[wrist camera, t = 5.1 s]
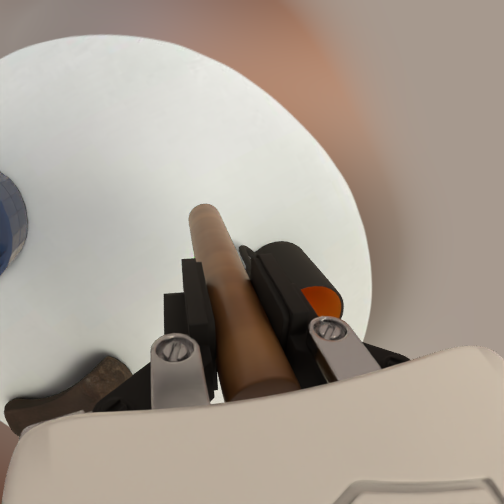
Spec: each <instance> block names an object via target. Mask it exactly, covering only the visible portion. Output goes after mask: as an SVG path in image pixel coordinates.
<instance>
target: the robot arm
mask: <svg viewBox="0 0 504 504" xmlns="http://www.w3.org/2000/svg"><path fill="white" fill-rule="evenodd" d="M182 275H183V289H184V292H183V293H169V294H164V336H161V337H160V338H158V339H157V340H155V342H154V343H153V344H152V347H151V362H150V363H148V364H147V365H146V366H144V367H143V368H142V369H140V370H139V371H138V372H136V373H135V374H134V375H133V376H131V377H130V378H129V379H127V380H126V381H125V382H123V383H122V384H121V385H119V386H118V387H117V388H115V389H114V390H113V391H111V392H110V393H109V394H107V395H106V396H105V397H103V398H102V399H101V400H99V401H98V402H97V403H96V404H95V406H94V408H93V410H92V411H90V412H87V413H85V412H84V410H81V411H77V412H74V413H71V414H67V415H64V416H61V417H57V418H54V419H50V420H46V421H43V422H39V423H35V424H32V425H30V426H27V427H26V428H25V429H24V430H23V431H22V432H21V434H20V436H19V442H18V444H17V445H16V448H15V450H14V452H13V455H12V458H11V461H10V464H9V468H8V472H7V475H6V480H5V486H4V492H3V499H2V504H504V359H503V358H501V357H500V356H499V355H498V354H497V353H495V352H494V351H493V350H491V349H489V348H486V347H481V346H460V347H453V348H449V349H445V350H441V351H438V352H435V353H432V354H429V355H425V356H422V357H419V358H416V359H413V360H410V359H408V358H407V357H405V356H403V355H401V354H397V353H394V352H391V351H388V350H385V349H382V348H379V347H376V346H373V345H369V344H366V343H363V342H361V340H360V339H359V338H358V336H357V335H356V334H355V332H354V331H353V330H352V328H351V327H350V326H349V325H348V324H347V323H346V322H345V321H343V320H341V319H339V318H336V317H332V316H321V317H319V316H318V315H317V313H316V312H315V310H314V309H313V307H312V306H311V305H310V303H309V302H308V300H307V299H306V297H305V296H304V294H303V293H302V291H301V290H300V289H299V287H298V286H297V284H296V283H291V282H290V280H289V279H288V277H287V276H286V274H285V273H284V271H283V270H282V268H281V267H280V265H279V264H278V262H277V261H276V259H275V258H274V256H273V255H272V254H271V253H268V254H257V255H256V258H252V260H251V278H250V281H251V283H252V285H253V287H254V289H255V292H256V294H257V296H258V298H259V300H260V302H261V304H262V306H263V309H264V311H265V313H266V315H267V317H268V319H269V321H270V324H271V326H272V328H273V330H274V332H275V334H276V336H277V338H278V340H279V343H280V345H281V347H282V349H283V351H284V353H285V355H286V357H287V359H288V361H289V363H290V365H291V368H292V370H293V372H294V374H295V376H296V378H297V380H298V382H299V384H300V387H301V390H297V391H292V392H287V393H282V394H276V395H271V396H265V397H259V398H253V399H246V400H240V401H233V402H226V403H218V404H210V401H211V400H213V398H214V390H218V381H217V368H216V330H215V320H214V315H213V311H212V307H211V302H210V298H209V293H208V289H207V285H206V280H205V276H204V271H203V266H202V262H196V258H192V259H182Z"/></svg>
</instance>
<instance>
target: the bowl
mask: <svg viewBox="0 0 504 504" xmlns="http://www.w3.org/2000/svg"><path fill="white" fill-rule="evenodd" d="M27 224H28V221H27V215H26V208H25V204H24V202H23V200H22V197H21V195H20V192H19V190H18V189H17V188H16V186H15V185H14V184H13V182H12V181H11V180H10V179H9V178H8V177H7V176H5V175H4V174H3V173H1V172H0V275H1V274H2V273H3V272H4V270H5V269H6V268H7V267H8V265H9V264H10V263H11V262H12V261H13V259H14V258H15V257H16V256H17V255H18V253H19V252H20V251H21V250H22V247H23V245H24V242H25V240H26V236H27Z"/></svg>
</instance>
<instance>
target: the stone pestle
mask: <svg viewBox="0 0 504 504" xmlns="http://www.w3.org/2000/svg"><path fill="white" fill-rule="evenodd" d="M131 376H133V375H132V373H131V372H130V370H129V369H128V368H127V367H126V366H125V365H124V364H123V363H121V362H120V361H119V360H117V359H115V358H113V357H110V356H106V357H105V358H104V359H103V360H102V361H101V362H100V363H99V364H98V365H97V366H96V367H95V368H94V369H93V370H92V371H91V372H90V373H89V374H88V375H87V376H85V377H84V378H83V379H82V380H81V381H80V382H78V383H77V384H75V385H74V386H72V387H71V388H69V389H67V390H65V391H63V392H61V393H59V394H56V395H54V396H51V397H46V398H42V399H21V398H16V399H13V400H11V401H9V402H8V403H7V404H6V406H5V410H4V415H5V418H6V421H7V423H8V424H9V426H10V428H11V430H12V431H13V432H14V433H15V434H16V435H17V436H20V434H21V432H22V431H23V430H24V429H25V428H26V427H27V426H30V425H32V424H35V423H39V422H43V421H46V420H50V419H54V418H57V417H61V416H64V415H67V414H71V413H74V412H77V411H81V410H84V412H85V413H87V412H90V411H92V410H93V408H94V406H95V404H96V403H97V402H98V401H99V400H101V399H102V398H103V397H105V396H106V395H107V394H109V393H110V392H111V391H113V390H114V389H115V388H117V387H118V386H119V385H121V384H122V383H123V382H125V381H126V380H127V379H129V378H130V377H131Z"/></svg>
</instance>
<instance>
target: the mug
mask: <svg viewBox="0 0 504 504" xmlns="http://www.w3.org/2000/svg"><path fill="white" fill-rule="evenodd" d="M239 253H240V255H241V257H242V259H243V261H244V263H245V265H246V267H247V268H246V272H247V274H248V276H249V279H250V278H251V260H252V258H256V255H257V254H268V253H271V254H272V255H273V256H274V258H275V259H276V261H277V262H278V264H279V265H280V267H281V268H282V270H283V271H284V273H285V274H286V276H287V277H288V279H289V280H290V282H291V283H296V284H297V286H298V287H299V289H300V290H301V291H302V293H303V294H304V296H305V297H306V299H307V300H308V302H309V303H310V305H311V306H312V307H313V309H314V310H315V312H316V313H317V315H318V316H319V317H321V316H332V317H336V318H339V319H341V317H342V315H343V309H344V304H343V299H342V297H341V295H340V294H339V292H338V291H337V290H336V289H335V287H334V286H333V285H332V284H331V283H330V282H329V280H328V279H327V278H326V277H325V276H324V275H323V273H322V272H321V271H320V270H319V269H318V268H317V266H316V265H315V264H314V263H313V262H312V261H311V260H310V258H309V257H308V256H307V255H306V254H305V253H304V252H303V251H302V249H301V248H299V247H298V246H297V245H295V244H293V243H289V242H282V241H281V242H274V243H270V244H268V245H266V246H264V247H262V248H261V249H259V250H258V251H257V252H256V253H255V252H253V251H252V250H251V249H250V248H248V247H247V246H244V245H241V246H240V247H239ZM249 256H250V257H251V259H250V257H249Z"/></svg>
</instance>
